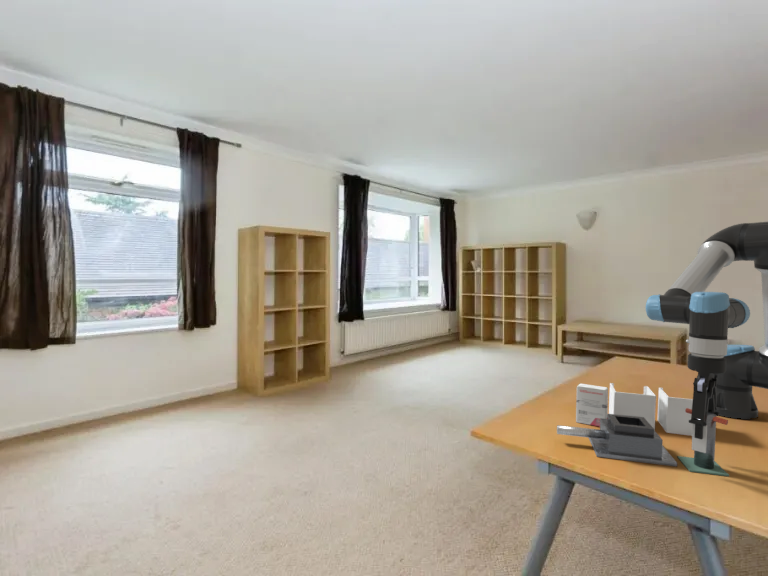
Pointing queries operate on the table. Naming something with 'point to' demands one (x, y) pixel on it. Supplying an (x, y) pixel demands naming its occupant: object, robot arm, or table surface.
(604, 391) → the ink box
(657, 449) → the block
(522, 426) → the table surface
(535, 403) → the table surface
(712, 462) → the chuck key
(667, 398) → the brackets
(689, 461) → the rubber mat
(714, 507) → the table surface
